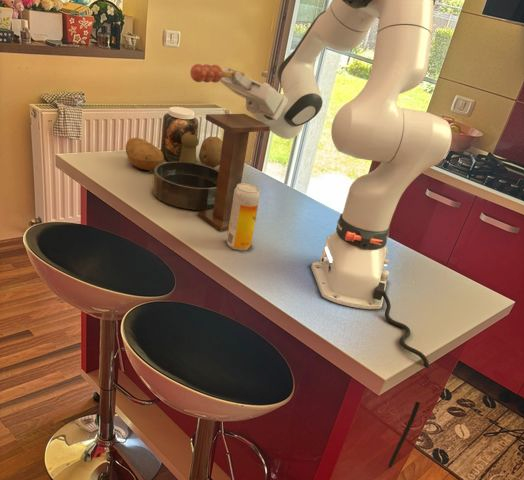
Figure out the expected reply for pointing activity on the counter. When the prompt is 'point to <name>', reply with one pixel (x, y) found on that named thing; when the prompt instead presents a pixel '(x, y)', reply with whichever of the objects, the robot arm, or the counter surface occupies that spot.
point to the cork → (188, 148)
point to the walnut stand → (230, 163)
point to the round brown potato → (211, 151)
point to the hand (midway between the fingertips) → (231, 72)
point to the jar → (177, 131)
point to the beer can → (243, 216)
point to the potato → (143, 154)
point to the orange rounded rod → (209, 73)
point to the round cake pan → (186, 185)
